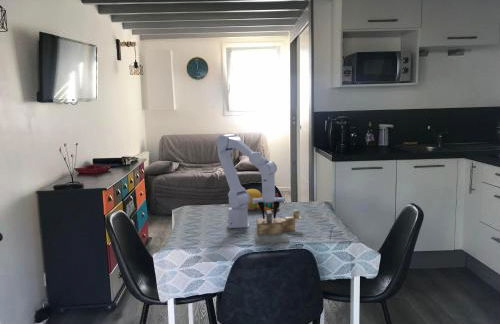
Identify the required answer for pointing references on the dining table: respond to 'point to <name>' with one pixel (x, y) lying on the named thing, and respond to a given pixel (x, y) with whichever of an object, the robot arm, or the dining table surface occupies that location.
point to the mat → (272, 238)
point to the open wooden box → (277, 227)
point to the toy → (256, 194)
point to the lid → (269, 219)
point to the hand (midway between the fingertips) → (269, 218)
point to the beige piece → (294, 215)
